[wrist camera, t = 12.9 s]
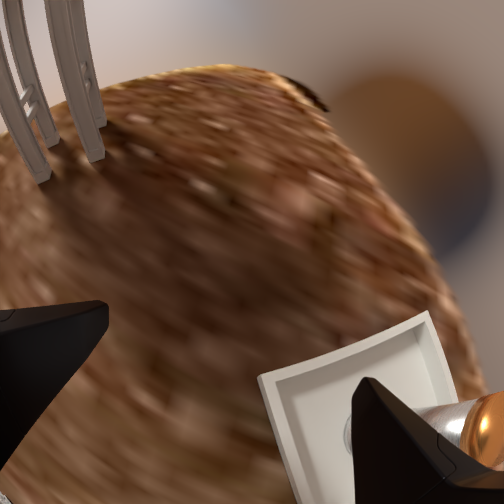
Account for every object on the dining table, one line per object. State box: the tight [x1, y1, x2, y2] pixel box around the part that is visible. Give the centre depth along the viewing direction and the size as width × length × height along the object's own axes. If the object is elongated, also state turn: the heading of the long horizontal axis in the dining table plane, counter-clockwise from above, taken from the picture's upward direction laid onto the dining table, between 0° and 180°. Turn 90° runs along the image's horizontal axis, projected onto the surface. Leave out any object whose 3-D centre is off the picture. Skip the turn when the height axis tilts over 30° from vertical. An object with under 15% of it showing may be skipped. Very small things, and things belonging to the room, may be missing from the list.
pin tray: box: [257, 311, 459, 504], centre depth 17 cm, size 16×16×3 cm
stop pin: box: [343, 391, 504, 466], centre depth 12 cm, size 6×6×14 cm
